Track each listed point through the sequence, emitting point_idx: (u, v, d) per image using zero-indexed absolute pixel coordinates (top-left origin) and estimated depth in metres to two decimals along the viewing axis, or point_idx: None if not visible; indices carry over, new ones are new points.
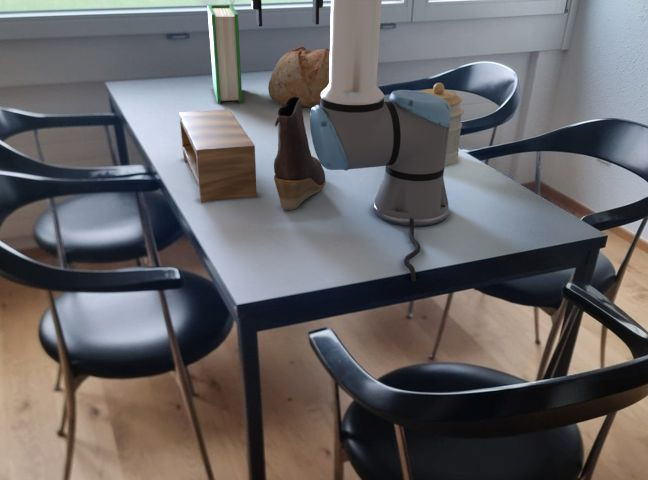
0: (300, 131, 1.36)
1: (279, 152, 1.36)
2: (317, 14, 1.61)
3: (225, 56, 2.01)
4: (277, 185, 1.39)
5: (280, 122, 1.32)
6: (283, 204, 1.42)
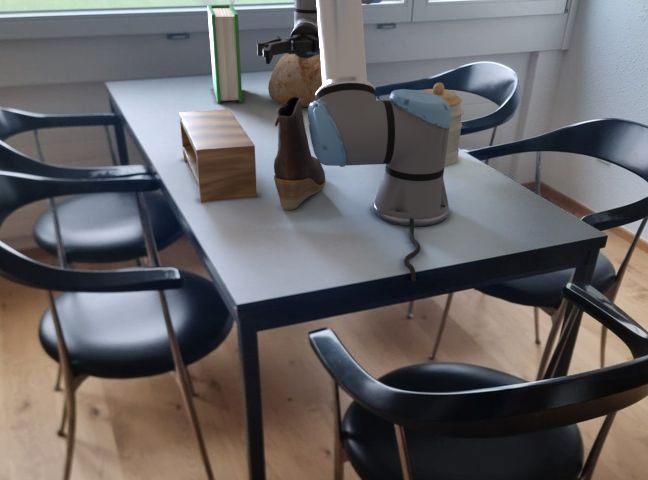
0: (300, 131, 1.36)
1: (279, 152, 1.36)
2: None
3: (225, 56, 2.01)
4: (277, 185, 1.39)
5: (280, 122, 1.32)
6: (283, 204, 1.42)
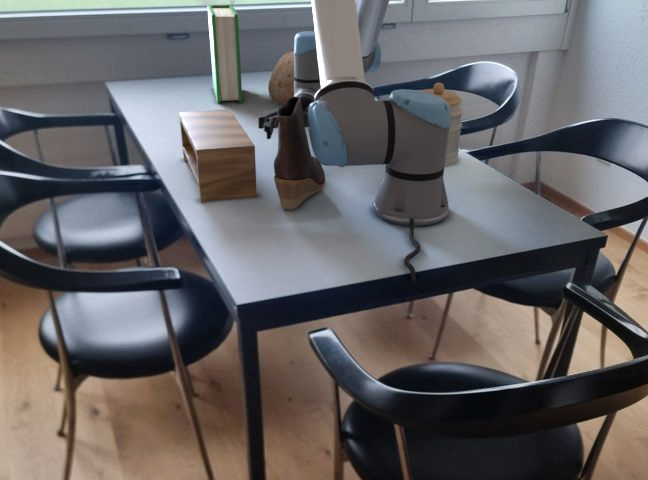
0: (300, 131, 1.36)
1: (279, 152, 1.36)
2: None
3: (225, 56, 2.01)
4: (277, 185, 1.39)
5: (280, 122, 1.32)
6: (283, 204, 1.42)
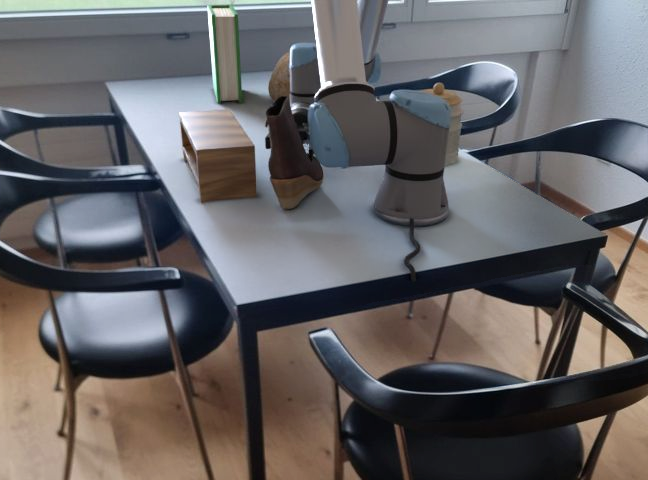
0: (290, 129, 1.35)
1: (272, 152, 1.36)
2: (311, 146, 1.47)
3: (225, 56, 2.01)
4: (273, 186, 1.39)
5: (269, 122, 1.32)
6: (281, 204, 1.42)
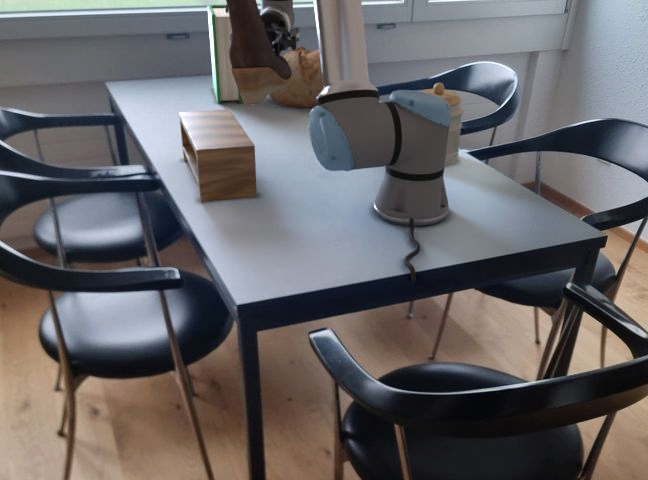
0: (252, 13, 1.26)
1: (232, 38, 1.27)
2: (277, 40, 1.38)
3: (225, 56, 2.01)
4: (235, 77, 1.30)
5: (228, 2, 1.23)
6: (244, 98, 1.33)
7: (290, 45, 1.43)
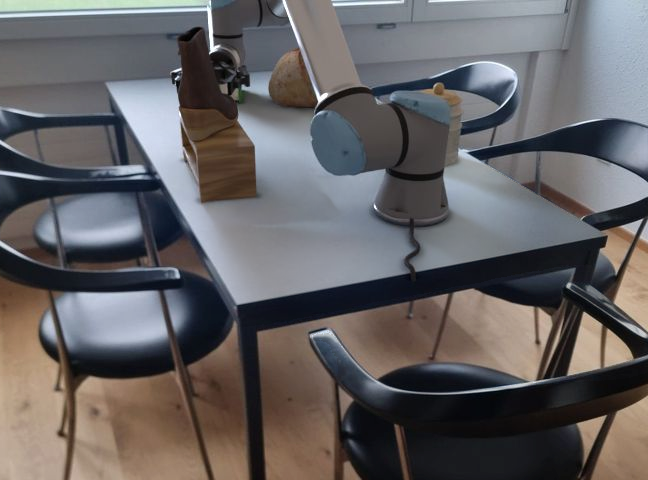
0: (202, 59, 1.36)
1: (181, 80, 1.37)
2: (230, 79, 1.48)
3: None
4: (181, 115, 1.40)
5: (179, 48, 1.32)
6: (189, 135, 1.42)
7: (244, 83, 1.53)
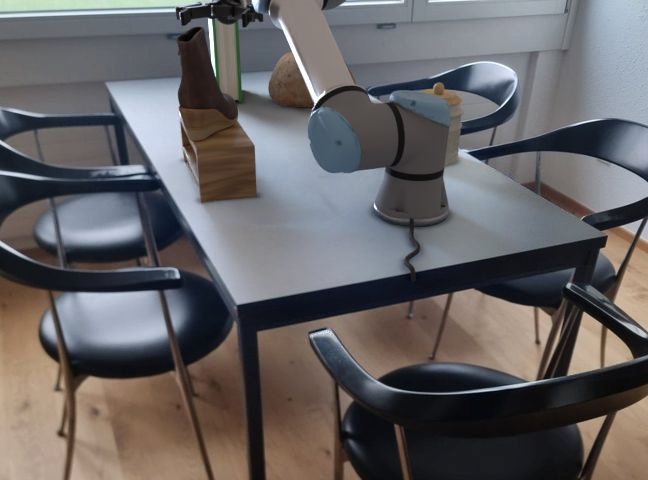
0: (202, 59, 1.36)
1: (181, 80, 1.37)
2: (244, 12, 1.53)
3: (225, 56, 2.01)
4: (181, 115, 1.40)
5: (179, 48, 1.32)
6: (189, 135, 1.42)
7: (257, 17, 1.58)
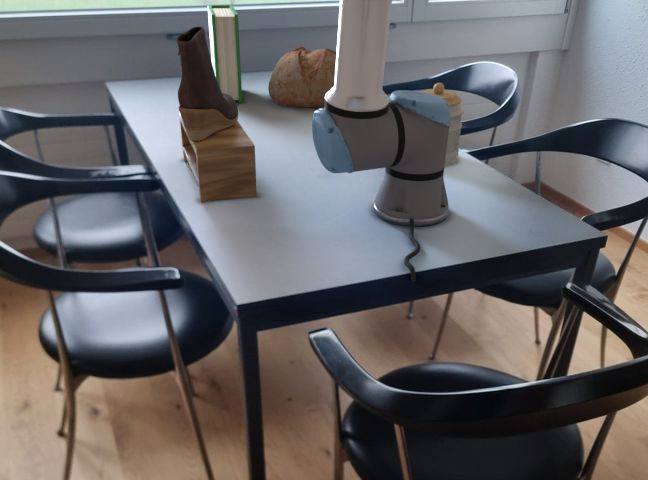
0: (202, 59, 1.36)
1: (181, 80, 1.37)
2: None
3: (225, 56, 2.01)
4: (181, 115, 1.40)
5: (179, 48, 1.32)
6: (189, 135, 1.42)
7: None
